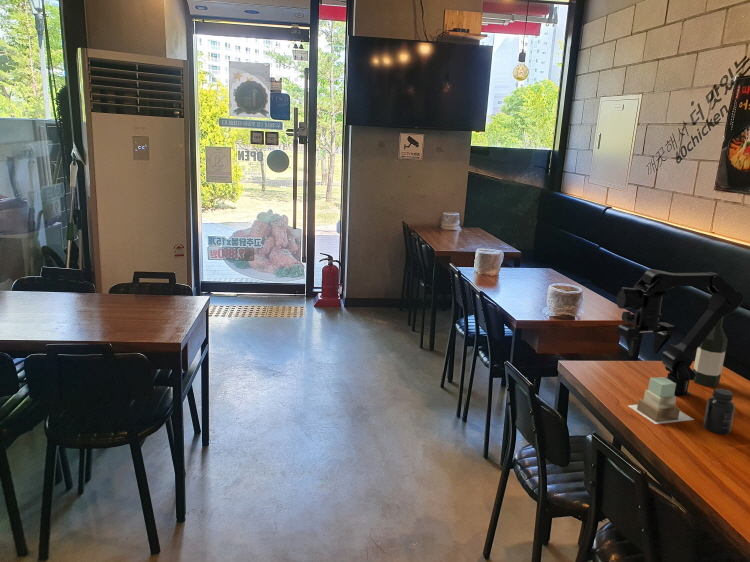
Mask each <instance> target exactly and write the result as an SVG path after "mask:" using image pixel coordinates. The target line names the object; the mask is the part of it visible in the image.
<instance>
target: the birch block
mask: <svg viewBox="0 0 750 562" xmlns="http://www.w3.org/2000/svg"><path fill="white" fill-rule="evenodd" d="M677 397H678V396H671V397H658V396H657V395H655V394H653V393H652V392H650V391H648V389H645V390H644V396H643V399H644V401H645V402H647V403H649V404H650V405H652V406H653V407H655V408H657V409H666V408H675V406H676V402H677Z"/></svg>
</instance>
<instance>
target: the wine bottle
mask: <svg viewBox="0 0 750 562" xmlns="http://www.w3.org/2000/svg"><path fill="white" fill-rule="evenodd" d="M724 318H725V316H724V317H723V318H722V319H721V320H720V321H719V322H718V324H717V325H716V326H715V327H714V329H713V330H712V331H711V332H710V334H709V335H708V336H707V337H706V339H705V340H704V341H703V342H702V344H701V345H700V346H699V347H698V348H697V350H696V352H695V353H696V354H695V360H694V364H693V368H692V370H693V372H694V373H695V374H696V376H695V378H694V379H693V380H692V381H693V383H694V384H698V385H700V386H703V387H709V388H716V387H718V386H719V385H720V382H721V376H722V371H723V367H724V366H723V365H724V361H725V356H726V352H727V346H728V341H729V339H728V337H727V334H726V333H725V330H724V329H723V322H724Z"/></svg>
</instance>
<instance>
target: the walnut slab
mask: <svg viewBox="0 0 750 562" xmlns="http://www.w3.org/2000/svg"><path fill="white" fill-rule="evenodd" d="M637 404H638V405H637ZM637 404H636V405H637V410H638V411H640V412H641V413H643V414H644V415H646V416H647V417H649V418H650V419H652V420H653V421H655V422H661V421H670V420H678V417H679V412H680V411H681V409H680V407H678V406H676V405H675V408H666V409H657V408H655V407H653V406H652V405H650V404H649V403H647V402H645V401H644V398H639V399H638V400H637Z"/></svg>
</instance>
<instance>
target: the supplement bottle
mask: <svg viewBox="0 0 750 562" xmlns="http://www.w3.org/2000/svg"><path fill="white" fill-rule="evenodd" d="M733 397H734V393H733V392H732V391H731V390H728V389H726V388H725V389H724V388H714V389H713V392H712V396H711V397H709V398H708V399H707V402H706V408H705V413H704V418H703V419H704V420H703V428H704V429H705V430H707V431H708V432H710V433H713V434H715V435H723V436H725V435H729V434H730V433H731V431H732V426H733V419H734V413H735V411H736V405H735V403H734V401H733Z"/></svg>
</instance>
